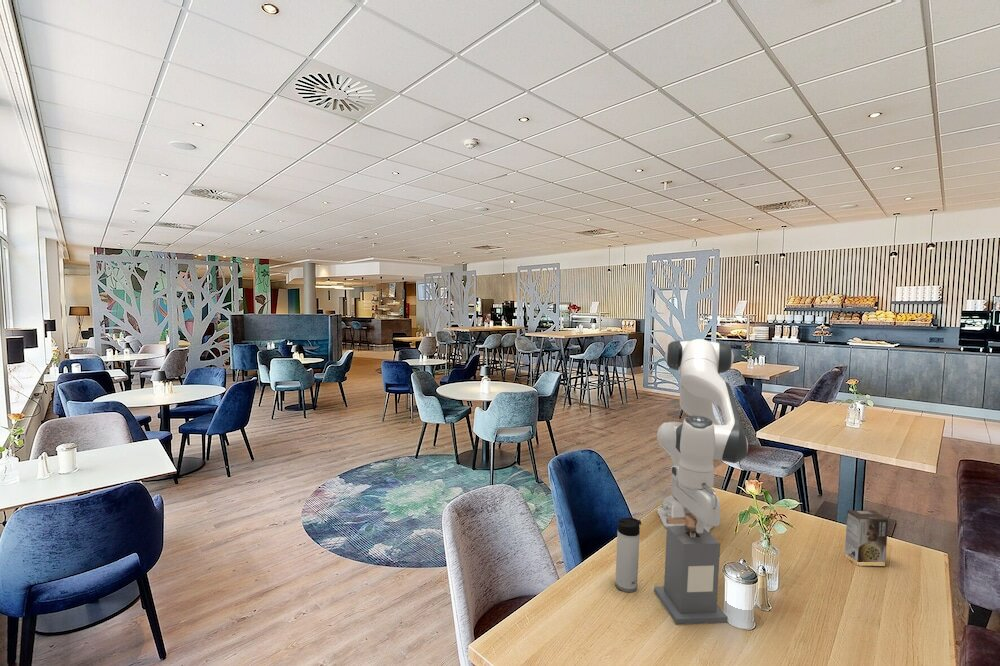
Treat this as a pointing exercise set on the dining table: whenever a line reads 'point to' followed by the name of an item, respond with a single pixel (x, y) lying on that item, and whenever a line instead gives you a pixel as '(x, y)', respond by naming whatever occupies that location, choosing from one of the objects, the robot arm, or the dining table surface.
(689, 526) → the pump head
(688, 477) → the robot arm
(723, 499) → the dining table surface
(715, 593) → the grey box with base
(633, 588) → the travel mug
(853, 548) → the coffee box
